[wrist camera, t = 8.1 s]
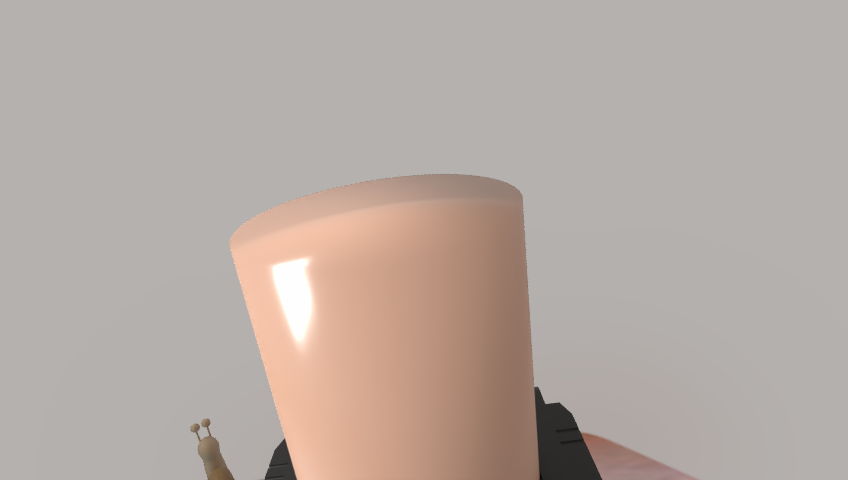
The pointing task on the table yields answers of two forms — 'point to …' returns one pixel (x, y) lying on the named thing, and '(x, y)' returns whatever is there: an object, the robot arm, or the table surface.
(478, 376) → the peach capsule cylinder
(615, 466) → the table surface
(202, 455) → the snail figurine
